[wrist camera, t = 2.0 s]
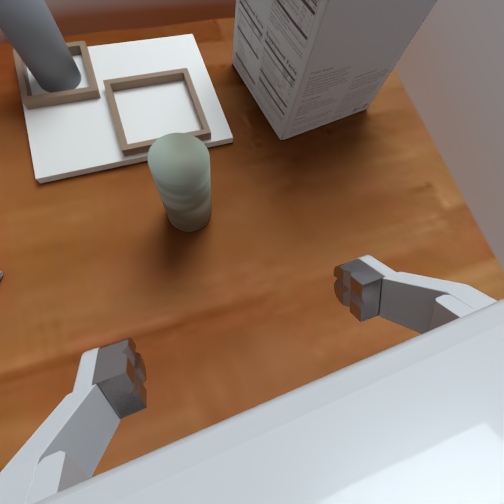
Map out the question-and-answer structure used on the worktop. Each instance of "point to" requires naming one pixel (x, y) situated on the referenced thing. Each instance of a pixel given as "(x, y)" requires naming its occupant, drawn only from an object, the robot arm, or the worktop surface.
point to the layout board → (105, 95)
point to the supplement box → (320, 55)
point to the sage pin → (182, 179)
